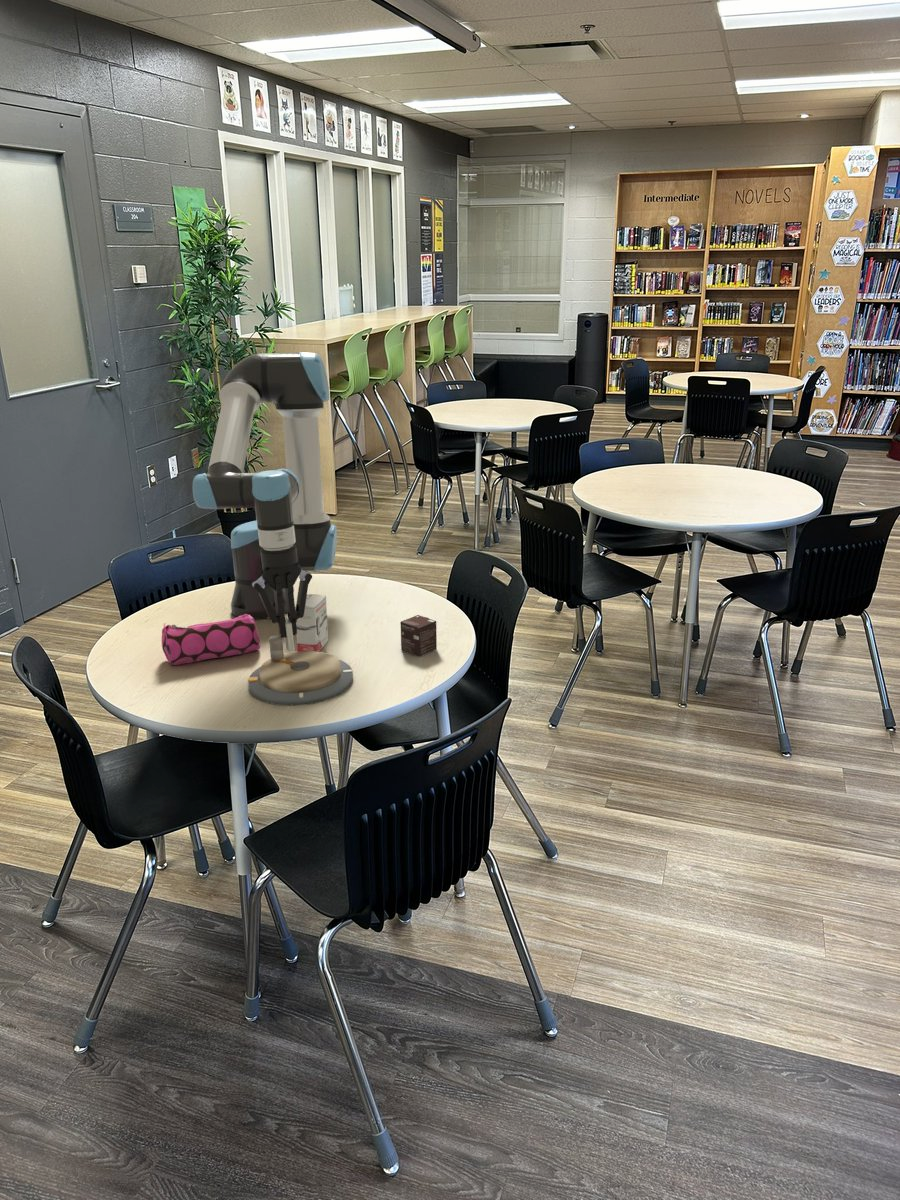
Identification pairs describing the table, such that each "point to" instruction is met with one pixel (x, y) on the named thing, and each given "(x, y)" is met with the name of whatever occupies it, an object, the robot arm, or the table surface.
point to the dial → (298, 669)
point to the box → (418, 635)
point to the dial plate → (301, 697)
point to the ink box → (312, 624)
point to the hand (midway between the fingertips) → (290, 649)
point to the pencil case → (209, 640)
